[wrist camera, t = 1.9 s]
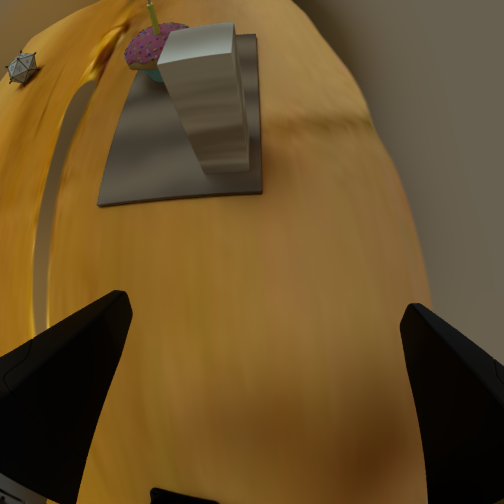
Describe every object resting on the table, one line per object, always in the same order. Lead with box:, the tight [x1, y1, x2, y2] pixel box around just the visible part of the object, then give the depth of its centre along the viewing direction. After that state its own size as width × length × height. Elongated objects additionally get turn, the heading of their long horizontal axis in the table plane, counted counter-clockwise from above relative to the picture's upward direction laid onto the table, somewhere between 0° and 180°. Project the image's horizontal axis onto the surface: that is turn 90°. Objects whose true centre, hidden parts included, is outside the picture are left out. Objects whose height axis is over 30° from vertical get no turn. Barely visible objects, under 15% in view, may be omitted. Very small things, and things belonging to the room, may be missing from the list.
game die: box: [5, 50, 40, 86], centre depth 32 cm, size 9×8×10 cm
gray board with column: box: [97, 22, 262, 207], centre depth 21 cm, size 26×16×13 cm, turn 1°
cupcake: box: [124, 0, 189, 82], centre depth 22 cm, size 9×8×12 cm
